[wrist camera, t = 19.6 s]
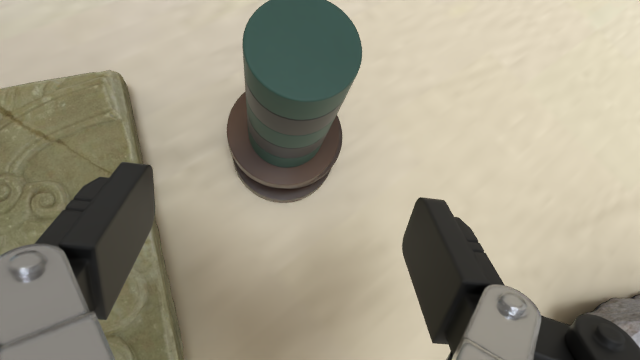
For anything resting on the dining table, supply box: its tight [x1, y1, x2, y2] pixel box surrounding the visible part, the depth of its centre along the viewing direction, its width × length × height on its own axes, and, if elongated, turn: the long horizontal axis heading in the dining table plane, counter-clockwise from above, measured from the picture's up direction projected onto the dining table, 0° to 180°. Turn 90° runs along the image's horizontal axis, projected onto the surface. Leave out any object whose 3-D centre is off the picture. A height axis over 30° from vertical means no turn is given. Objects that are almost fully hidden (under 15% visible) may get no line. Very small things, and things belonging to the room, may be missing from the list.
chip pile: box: [227, 92, 342, 203], centre depth 27 cm, size 8×8×4 cm
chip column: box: [243, 0, 362, 168], centre depth 21 cm, size 5×5×10 cm
